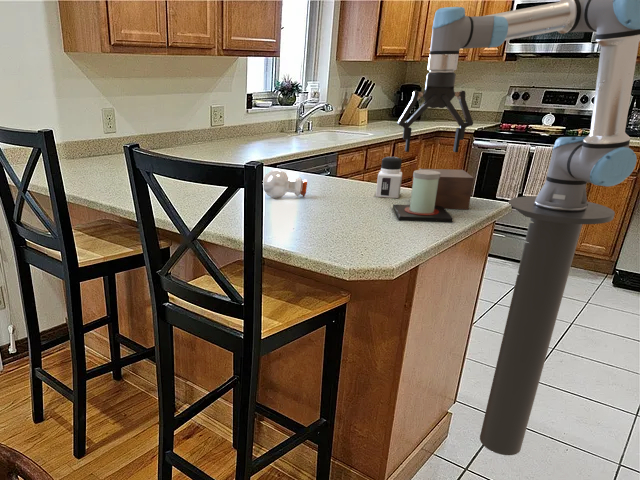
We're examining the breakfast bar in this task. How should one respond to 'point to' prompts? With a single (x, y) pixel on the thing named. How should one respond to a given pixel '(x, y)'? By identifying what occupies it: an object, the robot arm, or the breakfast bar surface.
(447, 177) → the brown box
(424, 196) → the jar
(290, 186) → the potion bottle
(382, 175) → the container
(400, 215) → the hob plate
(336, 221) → the breakfast bar surface
